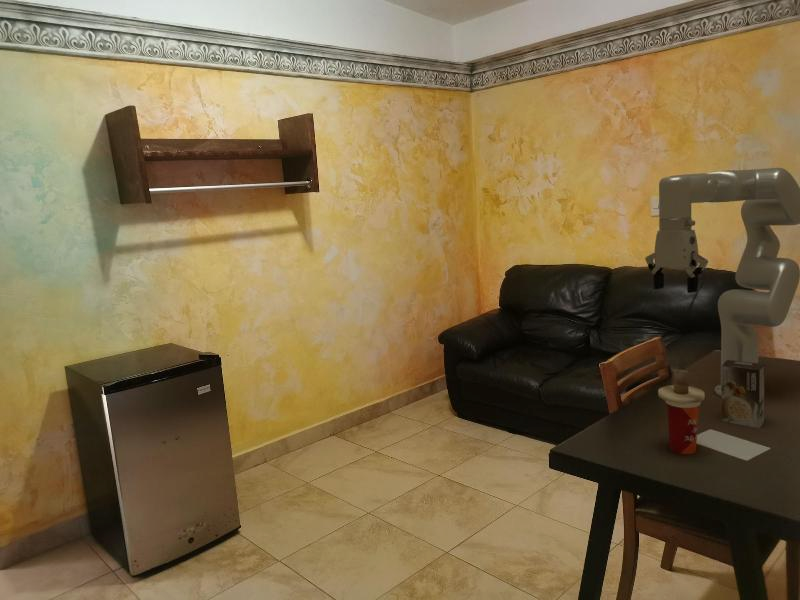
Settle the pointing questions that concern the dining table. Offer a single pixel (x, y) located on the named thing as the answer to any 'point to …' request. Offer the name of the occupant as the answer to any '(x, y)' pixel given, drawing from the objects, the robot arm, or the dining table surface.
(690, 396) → the lid
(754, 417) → the coffee box
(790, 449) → the dining table surface
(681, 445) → the paper cup
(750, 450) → the mat
